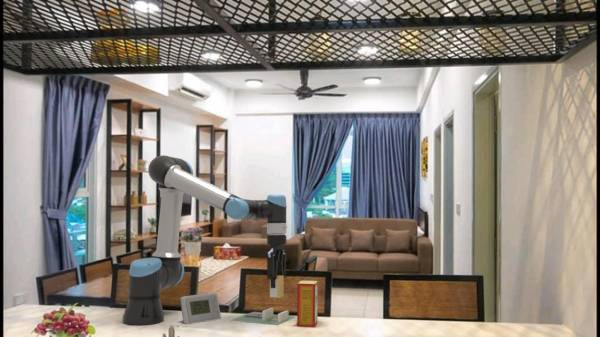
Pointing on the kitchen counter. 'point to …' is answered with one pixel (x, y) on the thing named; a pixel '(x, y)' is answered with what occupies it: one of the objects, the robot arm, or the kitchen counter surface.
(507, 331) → the kitchen counter surface
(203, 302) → the digital clock
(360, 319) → the kitchen counter surface
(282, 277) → the tan yellow block
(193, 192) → the robot arm
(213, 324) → the kitchen counter surface
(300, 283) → the baking soda box
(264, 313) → the board
